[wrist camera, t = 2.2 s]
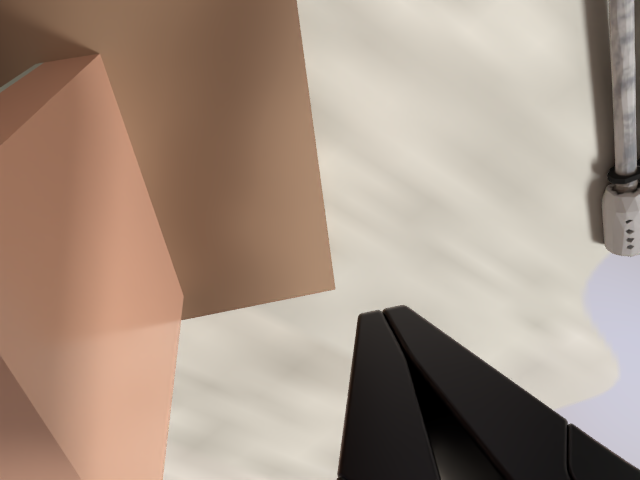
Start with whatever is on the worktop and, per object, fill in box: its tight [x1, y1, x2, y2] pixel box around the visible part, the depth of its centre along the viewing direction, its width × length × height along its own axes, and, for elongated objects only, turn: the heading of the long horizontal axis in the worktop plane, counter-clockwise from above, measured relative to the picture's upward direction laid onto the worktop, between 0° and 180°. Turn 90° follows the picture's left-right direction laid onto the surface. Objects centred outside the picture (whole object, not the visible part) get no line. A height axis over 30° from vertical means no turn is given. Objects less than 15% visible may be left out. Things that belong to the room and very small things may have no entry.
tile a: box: [0, 54, 184, 480], centre depth 11 cm, size 2×8×9 cm, turn 7°
